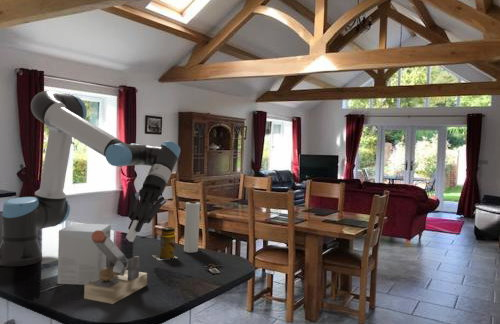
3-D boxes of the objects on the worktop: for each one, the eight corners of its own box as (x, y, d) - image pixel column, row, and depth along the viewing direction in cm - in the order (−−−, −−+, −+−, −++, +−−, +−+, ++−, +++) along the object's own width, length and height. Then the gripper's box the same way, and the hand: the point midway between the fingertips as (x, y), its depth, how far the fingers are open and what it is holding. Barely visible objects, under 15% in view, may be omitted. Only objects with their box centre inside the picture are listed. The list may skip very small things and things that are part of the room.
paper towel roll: (186, 253, 181) (188, 203, 180) (181, 250, 187) (183, 201, 186) (202, 252, 185) (204, 203, 184) (197, 248, 190) (199, 201, 189)
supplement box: (110, 273, 150) (111, 224, 150) (98, 285, 137) (99, 231, 137) (72, 271, 150) (73, 222, 149) (56, 284, 137) (57, 230, 136)
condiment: (178, 258, 174) (179, 229, 173) (158, 260, 169) (159, 230, 168) (171, 254, 180) (172, 225, 179) (151, 256, 175) (152, 227, 175)
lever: (118, 258, 137) (89, 226, 123) (134, 261, 135) (106, 229, 121) (110, 274, 134) (80, 242, 120) (127, 276, 132) (98, 245, 118)
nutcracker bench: (120, 280, 143) (121, 249, 142) (146, 285, 140) (147, 253, 139) (84, 298, 126) (85, 263, 125) (112, 303, 123) (114, 267, 122)
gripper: (136, 171, 150) (107, 231, 137) (169, 175, 146) (142, 237, 133) (144, 183, 156) (117, 241, 143) (176, 187, 152) (151, 248, 139)
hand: (129, 239), depth 138 cm, fingers closed
